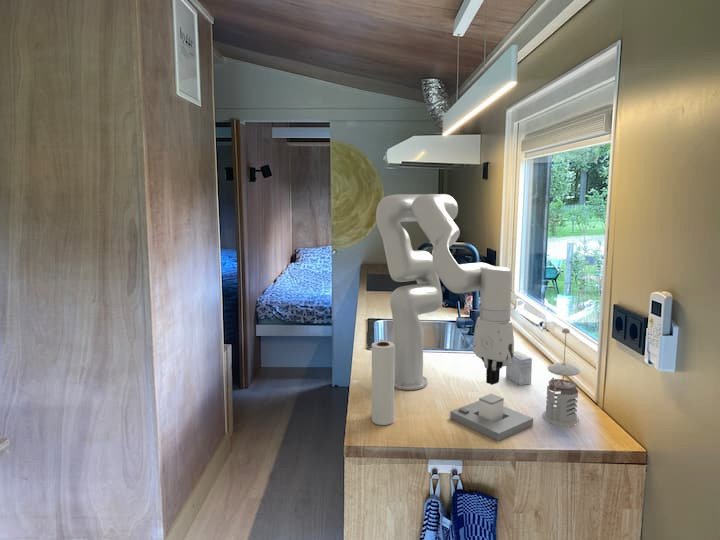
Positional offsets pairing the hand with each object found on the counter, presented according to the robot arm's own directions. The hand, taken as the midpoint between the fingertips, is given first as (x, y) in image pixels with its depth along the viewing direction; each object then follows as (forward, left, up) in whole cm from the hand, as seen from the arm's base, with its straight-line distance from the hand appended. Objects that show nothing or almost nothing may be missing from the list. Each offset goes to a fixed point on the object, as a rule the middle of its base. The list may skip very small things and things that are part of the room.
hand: (492, 382), depth 132 cm
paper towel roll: (-18, -22, -11) cm, 31 cm away
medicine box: (-14, +31, -11) cm, 36 cm away
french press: (+10, +16, -11) cm, 22 cm away
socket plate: (0, 0, -11) cm, 11 cm away
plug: (0, 0, -10) cm, 10 cm away
